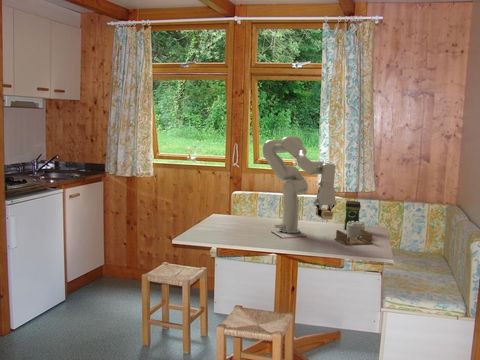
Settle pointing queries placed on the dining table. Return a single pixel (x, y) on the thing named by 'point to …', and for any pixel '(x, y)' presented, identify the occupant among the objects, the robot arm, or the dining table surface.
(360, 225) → the lumpy-topped squat cylinder
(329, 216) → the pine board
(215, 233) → the dining table surface
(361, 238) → the peg cradle
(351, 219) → the coffee jar
